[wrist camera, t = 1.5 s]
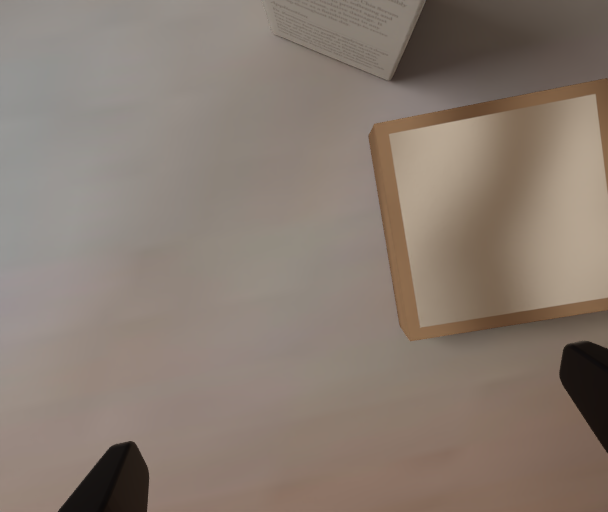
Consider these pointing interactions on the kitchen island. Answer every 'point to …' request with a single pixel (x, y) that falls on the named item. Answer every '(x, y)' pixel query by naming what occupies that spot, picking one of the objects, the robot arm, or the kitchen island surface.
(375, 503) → the kitchen island surface
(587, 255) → the plinth
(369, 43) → the skincare box
